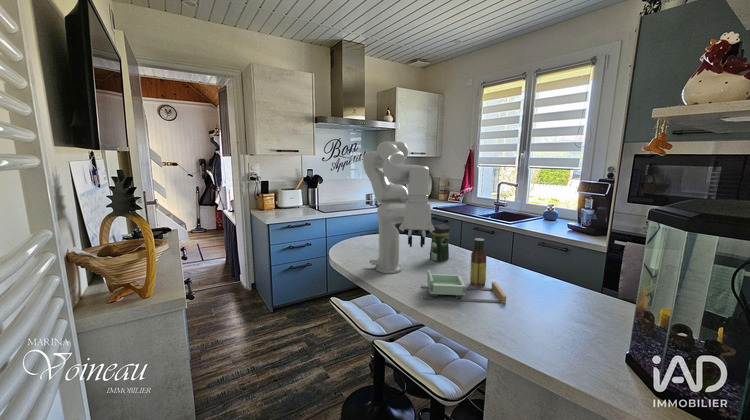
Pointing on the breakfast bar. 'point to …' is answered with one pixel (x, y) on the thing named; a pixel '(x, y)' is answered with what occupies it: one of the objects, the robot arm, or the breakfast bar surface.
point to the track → (494, 288)
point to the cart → (445, 284)
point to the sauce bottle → (478, 264)
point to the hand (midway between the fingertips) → (416, 245)
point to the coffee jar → (440, 243)
